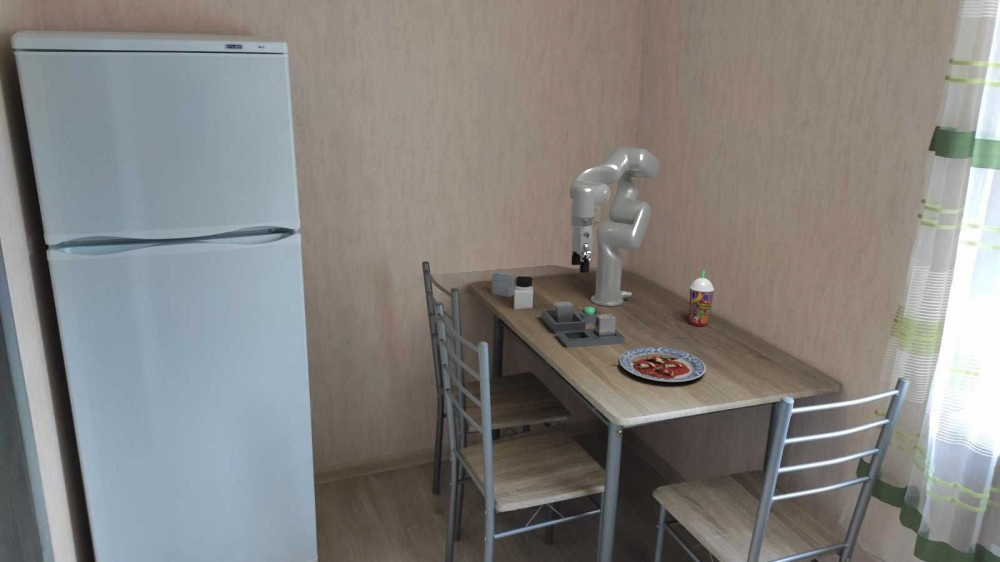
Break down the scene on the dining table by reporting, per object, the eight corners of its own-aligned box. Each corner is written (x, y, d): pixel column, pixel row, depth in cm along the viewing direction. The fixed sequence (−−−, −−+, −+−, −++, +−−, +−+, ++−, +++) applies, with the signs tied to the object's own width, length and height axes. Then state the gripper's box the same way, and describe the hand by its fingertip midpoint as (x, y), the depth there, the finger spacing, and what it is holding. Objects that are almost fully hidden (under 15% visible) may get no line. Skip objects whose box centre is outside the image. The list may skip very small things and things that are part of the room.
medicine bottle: (533, 310, 270) (534, 279, 266) (514, 309, 270) (514, 279, 266) (532, 304, 277) (533, 274, 273) (514, 303, 277) (514, 273, 273)
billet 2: (609, 336, 243) (611, 313, 240) (614, 340, 239) (615, 317, 237) (593, 337, 241) (595, 314, 239) (598, 341, 238) (599, 318, 235)
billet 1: (568, 322, 254) (569, 301, 252) (572, 326, 251) (573, 305, 248) (553, 323, 253) (554, 302, 251) (556, 327, 249) (557, 306, 247)
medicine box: (514, 295, 287) (514, 274, 284) (508, 298, 283) (508, 276, 281) (497, 291, 291) (498, 271, 288) (491, 294, 287) (492, 273, 285)
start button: (592, 315, 260) (592, 306, 259) (595, 318, 256) (596, 309, 255) (582, 315, 259) (583, 306, 258) (586, 319, 255) (586, 309, 254)
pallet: (612, 335, 246) (612, 327, 245) (624, 346, 237) (624, 337, 236) (556, 339, 242) (557, 331, 241) (566, 350, 232) (566, 342, 232)
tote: (570, 319, 260) (571, 308, 259) (585, 334, 247) (585, 322, 245) (541, 321, 258) (542, 309, 257) (554, 336, 244) (555, 324, 243)
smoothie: (697, 329, 253) (703, 275, 248) (681, 322, 260) (686, 269, 255) (715, 326, 257) (721, 272, 251) (699, 318, 264) (704, 266, 258)
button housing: (594, 318, 262) (595, 308, 261) (601, 325, 256) (602, 314, 254) (576, 319, 260) (576, 309, 259) (582, 326, 254) (583, 315, 253)
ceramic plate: (679, 396, 203) (680, 386, 202) (602, 370, 219) (603, 361, 218) (719, 369, 221) (720, 360, 220) (646, 346, 237) (647, 338, 237)
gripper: (601, 226, 241) (598, 275, 246) (585, 215, 258) (582, 261, 263) (579, 226, 240) (577, 276, 245) (565, 216, 256) (562, 262, 261)
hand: (579, 268), depth 254 cm, fingers open, 9 cm apart
